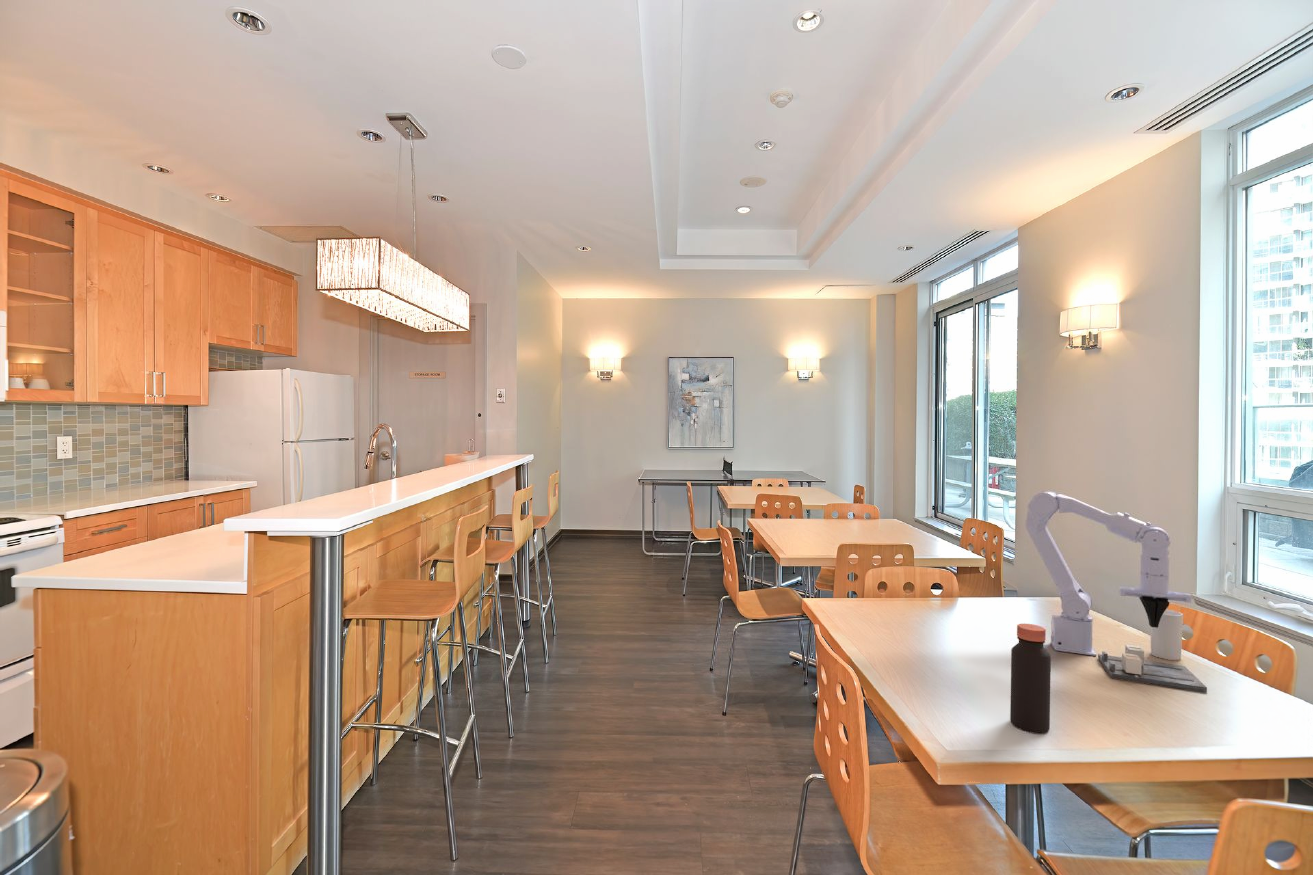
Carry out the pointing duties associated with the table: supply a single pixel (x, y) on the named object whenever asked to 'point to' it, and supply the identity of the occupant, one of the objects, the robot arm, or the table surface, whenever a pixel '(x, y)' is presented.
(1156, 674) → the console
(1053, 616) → the robot arm
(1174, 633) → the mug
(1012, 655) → the bottle
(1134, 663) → the fader near
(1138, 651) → the fader far
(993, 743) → the table surface
